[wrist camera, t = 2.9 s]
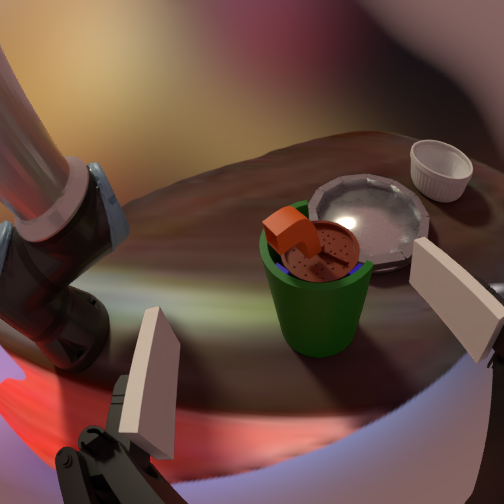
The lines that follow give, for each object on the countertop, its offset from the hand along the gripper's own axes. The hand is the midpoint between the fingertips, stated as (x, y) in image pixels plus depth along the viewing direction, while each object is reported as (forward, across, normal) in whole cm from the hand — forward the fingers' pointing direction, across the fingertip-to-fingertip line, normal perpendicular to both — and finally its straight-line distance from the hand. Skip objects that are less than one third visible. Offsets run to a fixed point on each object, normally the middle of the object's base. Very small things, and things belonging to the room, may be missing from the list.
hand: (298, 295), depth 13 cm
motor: (+14, +4, -18) cm, 23 cm away
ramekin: (+31, +37, -10) cm, 49 cm away
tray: (+27, +18, -12) cm, 35 cm away
